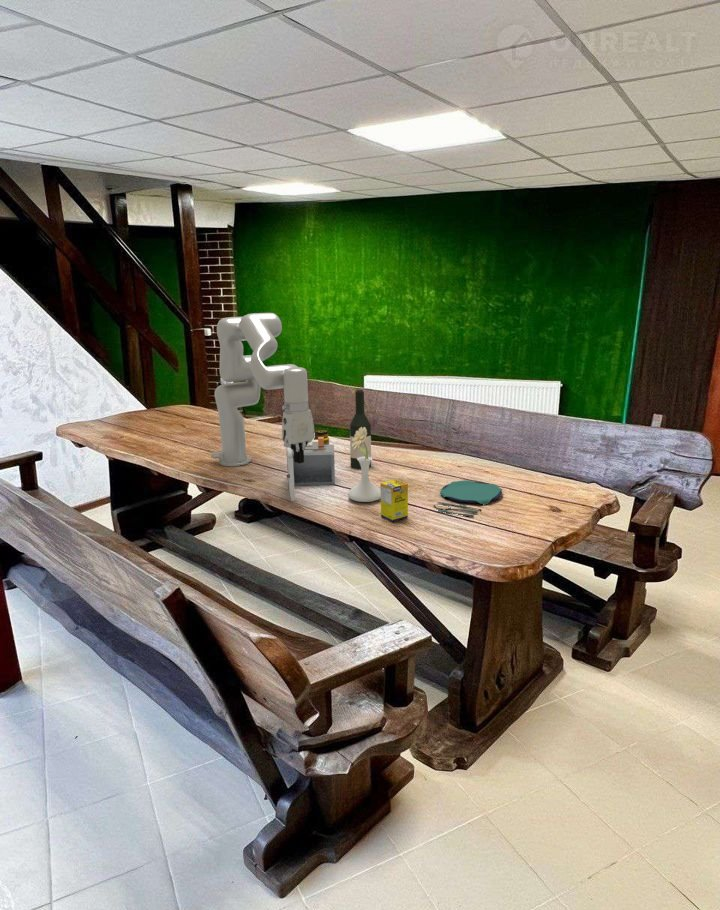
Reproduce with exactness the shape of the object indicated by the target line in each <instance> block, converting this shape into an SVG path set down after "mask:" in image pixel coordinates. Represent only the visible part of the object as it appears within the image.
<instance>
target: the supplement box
mask: <svg viewBox="0 0 720 910" xmlns="http://www.w3.org/2000/svg"><path fill="white" fill-rule="evenodd" d="M380 490H381V498H380V517H381V516H382V517H381V518H383V517H384V518H383V519H385V518H386V519H385V520H387V519H388V521H389V520H390V522H392V521H395V522H398V521H397V520H399V521H401V520H400V519H402V520H404V519H403V518H406V519H408V518H409V510H408V508H409V502H408V501H409V496H408V495H409V493H408V492H409V484H408V483H406V482H404V481H401V480H398V479H395V478H394V479H391V480H386V481H383V482H380ZM407 517H408V518H407Z"/></svg>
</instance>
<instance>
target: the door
mask: <svg viewBox="0 0 720 910" xmlns="http://www.w3.org/2000/svg"><path fill="white" fill-rule="evenodd" d="M285 448H286V462H287V474H286V479H287V484H288V491H289V496H290V501H291V502H296V496H295V495H296V493H295V492H296V490H295V486H294V469H293V456H292V452H291V448H287V447H285Z"/></svg>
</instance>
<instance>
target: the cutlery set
mask: <svg viewBox="0 0 720 910" xmlns="http://www.w3.org/2000/svg"><path fill="white" fill-rule="evenodd" d="M502 491H503V488H502V487H500V486H498V485H497V484H494V483H489V482H484V481H474V480H472V481H471V480H469V479H466V480H456V481H451V482H450V483H448V484H446V485H444V486H443V487H442V488H441V489H440V491H439V493H440V494H439V495H440V496H442V497H443V498H444V499H450V500H452V501H456V502H460V503H467V504H469V503H473V504H474V503H477V504H480V505H481V504H487V505H488V504H489V503H490V502H491V501H495V500H497V499H498V498H501V496H502V494H503V492H502ZM445 497H447V498H445ZM438 503H442V504H438ZM444 504H448V505H445V506H448V507H450V508H448V510H441V509H443V507H442V508H440V507H438V506H437V507H436V508H435V505H444ZM450 505H454V506H453V507H456V506H459V507H461V508H459V507H458V508H454V509H455V510H454V511H458V510H460V511H461V512H466V513H458V512H454V511H451V510H450V509H451V508H452V506H450ZM433 507H434V508H435V509H437V508H439V509H437V510H438V511H437V512H436V513H438V512H442V513H441V514H444V513H443V512H447V513H446V514H449V513H453V514H458V515H463V516H462V517H464V516H470V517H473V518H474V517H475V516H474V514H475V513H477V514H478V513H479V511H480V510H481V511H482V508H476V507H471V506H467V505H465V504H463V505H462V504H455V503H448V502H442V501H438V502H437V504H433ZM462 507H463V508H462ZM471 508H472V509H471ZM476 509H478V510H476ZM470 513H472V514H470ZM453 514H452V515H453ZM458 515H457V516H458ZM470 517H469V518H470Z"/></svg>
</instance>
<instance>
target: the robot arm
mask: <svg viewBox="0 0 720 910" xmlns="http://www.w3.org/2000/svg"><path fill="white" fill-rule="evenodd" d="M282 325H283V324H282V321H281V319H280V317H279V316H278V315H277V314H276V313H274V312H258V313H257V312H254V313H247V314H246V315H245V314H244V315H243V316H230V317H223V318H221V319H219V320H218V323H217V324H216V333H217V334H216V336H217V338H218V342H219V346H220V347H219V348H220V349H219V376H220V378H221V381H224V382H227V383H223V384H221V385H218V386H217V387H216V388H215V390H214V399H215V403H216V408H217V411H218V413H217V414H218V423H219V434H220V435H219V436H220V445H221V451H219V452H211V453H210V455H211V456H210V457H211V458H213V459H219V460H218V465H220V466H223V467H239V466H240V465H241V466H244V465H247V464H250V463H251V460H252V459H251V457H250V456H248V455H247V442H246V429H245V427H246V426H245V419H244V416H243V414H242V413H241V412H240V411H239V410H238V408H243V407H249V406H254V405H257V404H258V403H259V400H260V397H261V389H263V390H267V391H271V390H277V389H283V400H284V405H282V406H281V409H282V410H283V413H282V419H281V420H282V421H281V423H282V424H281V439H282V442H283V447H284V448H286V447H287V448H291V449H292V450H293V453H294V462H296V463H304V450H305V447H306V446H307V445H309V443H312V440H314V438H315V425H314V419H313V413H312V409H310V408H309V388H308V386H309V384H308V371H307V369H306V368H304V367H300V366H297V365H296V364H293V363H287V364H275V365H267V366H266V365H265V364H264V363H263V362H264V361H266V360H267V359H269V358H270V357H272V356H274V354H275V353H276V351H277V349H278V341H277V340H276V338H277V337H279V335H281V333H282V329H283V326H282ZM242 341H243V342H244V341H247V343H248V345H249V347H250V349H251V350H252V354H249V355H248V354H247V355H244V344H243V342H242ZM249 462H250V463H249Z"/></svg>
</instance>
